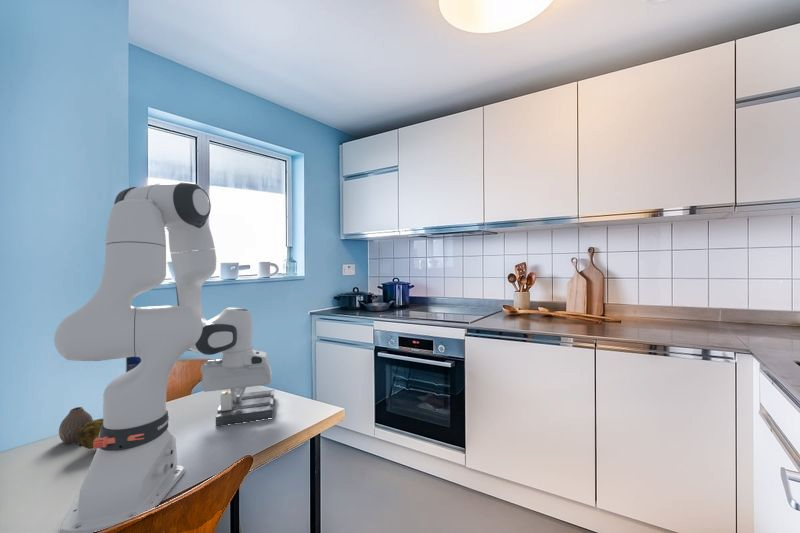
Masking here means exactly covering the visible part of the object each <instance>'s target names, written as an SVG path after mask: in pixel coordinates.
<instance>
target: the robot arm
mask: <svg viewBox="0 0 800 533" xmlns="http://www.w3.org/2000/svg"><path fill="white" fill-rule="evenodd" d="M211 209H212V206H211V200H210V197H209V195H208V192H206V190H205V189H203V187H202V186H201V185H199V184H196V183H193V182H179V183H152V184H151V183H150V184H147V185H141V186H132V187H129V188H126V189H123V190H121V191H119V192H118V193H117V195H116V197H115V199H114V203H113V206H112V208H111V210H110V213H109V217H108V221H107V226H106V230H105V231H106V232H105V243H104V244H105V245H104V247H105V248H104V252H105V253H104V265H103V274H102V278H101V281H100V284H99V286H98V288H97V290H96V291H95V293H94V294H93V295H92V297H91V298H90V299H88V301H87V302H86V303H85V304H84V305H83V306H81V307H80V308H78V309H77V310H76V311H74V312H72V313H70V314H69V315H67V316H66V317H65V318H64V319H62V321H60V323H59V324H58V326H57V328H56V330H55V332H54V337H53V341H54V342H53V343H54V347H55V348H56V350H57V352H58V354H59V355H60V356H61V357H63V358H64V359H66V361H71V362H73V361H75V362H101V361H111V360H119V359H126V358H128V357H135V356H136V357H140V358H141V362H140V363H139V365H138V366H136V367H135V368H134V369H132V370H130V371H128V372H126V371H125V372H124V373H122V374H121V375H119V376H118V377H116V378H115V379H113V380H111V381H110V382H109V383H108V385H106V387H105V388H104V392H103V394H102V395H103V396H102V397H103V398H102V401H103V403H102V406H103V409H102V412H103V414H102V415H103V416H102V419H103V424H102V426H101V430H100V432H99V438H96V439H95V440H94V443H93V449H94V450H96V451H95V454H94V456H93V457H92V460H91V463H90V465H89V467H88V470H87V472H86V474H85V477H84V479H83V482H82V484H81V486H80V490H79V493H78V495H77V496H76V499H75V501H73V504H72V506H71V508H70V510H69V511H68V513H67V514H66V517H65V518H64V521H63V522H62V524H61V525H60V531H59V533H93V532H95V531H99V530H102V529H104V528H107V527H110V526H112V525H115V524H118V523H120V522H122V521H125V520H127V519H129V518H130V517H132V516H135V515H137V514H140V513H142V512H145V511H146V510H149V509H151V508H153V507H155V506H157V505H160V504H161V502H162V500H164V498H165V497H166V496H167V495H168V493H169V492H170V491H171V490H172V489H173V487H174V486H175V485H176V484H177V482H179V480H180V479H181V477H182V476H183V475H184V474H185V471H186V470H185V466H183V465H180V464H178V456H177V455H178V454H177V440H176V439H177V438H176V437H175V435H173V434H172V433H170V431H169V430H168V428H169V421H170V417H169V411H168V410H167V392H168V391H167V390H168V382H169V378H170V375H171V372H172V370H173V368H174V367H175V365H176V363H177V362H178V361H179V359H180V358H181V357H182V356H183V355H184V354H186V352H187V351H188V352H194V353H197V354H201V355H206V356H211V355H216V354H219V353H221V359H213V360H210V359H209V360H206V361H204V362H203V363H202V364H201V365H200V373H201V376H202V378H201V382H200V383H201V386H200V388H201V391H202V392H205V393H206V392H216V391H223V390H224V391H227V390H229V391H230V392H231V393H232V395H233V396H234V402H240V401H242V395H243V393H245V391H246V388H251V387H259V386H267V385H270V384H271V383H272V381H273V377H272V375H273V374H272V367H271V363H270V362H269V361H268V353H267V352H265V351H262V350H261V351H260V350H255V349H253V348H254V347H253V344H252V337H253V322H252V321H253V320H252V315H251V312H250V310H248V309H245V308H242V307H232V306H231V307H230V306H229V307H226V308H224V309H223V310H222V312H220V313H219V314H217V315H216V316H214V317H212V318H210V319H206V317H205V315H204V313H203V305H202V287H203V285H204V284H205V282H207V280H209V279H210V278H211V277H212V276H213V274H214V273H215V271H216V270H217V254H216V249H215V248H216V247H215V243H214V238H213V234H212V232H211V229H210V225H209V223H208V221H207V220H208V218H209V216H210V213H211ZM165 229H166V230H167V232H168V246H169V252H170V259H171V263H172V268H173V273H174V280H175V292H176V293H175V294H176V302H177V305H155V306H154V305H151V306H133V304H132V303H133V301H134V299H135V298H136V297H138V296H139V295H141V294H143V293H146V292H148V291H151V290H153V289H155V288H156V287H159V286H161V284H162V283H163V282H164V281H165V279H166V276H167V239H166V230H165ZM236 388H240V391H241V393H240V394H239V395H237V393H236V392H235V391H236ZM157 507H158V506H157Z"/></svg>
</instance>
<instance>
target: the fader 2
mask: <svg viewBox="0 0 800 533" xmlns="http://www.w3.org/2000/svg"><path fill="white" fill-rule="evenodd" d="M235 392H236V393H237V395H239V394H240V393H241V391H240V388H236V391H235ZM233 400H234V396H233Z"/></svg>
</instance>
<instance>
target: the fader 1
mask: <svg viewBox="0 0 800 533" xmlns="http://www.w3.org/2000/svg"><path fill="white" fill-rule="evenodd" d="M220 405H221V411H226V410H232V407H233V395H232V393H231V392H230V389H226V390H224V391H221V394H220Z"/></svg>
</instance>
